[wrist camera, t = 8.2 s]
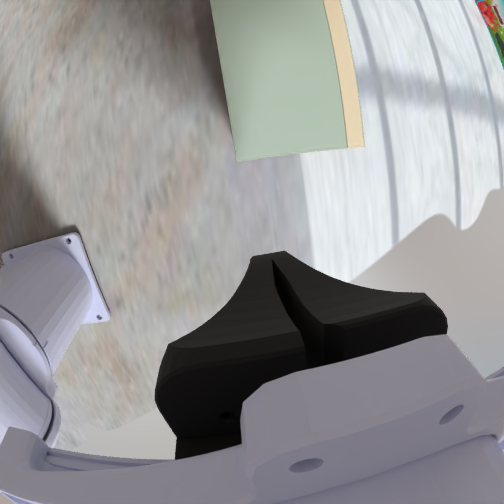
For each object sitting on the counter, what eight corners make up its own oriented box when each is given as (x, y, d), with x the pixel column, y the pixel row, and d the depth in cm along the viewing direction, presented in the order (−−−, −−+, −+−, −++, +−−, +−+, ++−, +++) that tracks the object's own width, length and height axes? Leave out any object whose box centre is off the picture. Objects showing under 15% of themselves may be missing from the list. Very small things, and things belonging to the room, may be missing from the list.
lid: (236, 161, 16) (237, 162, 15) (204, -33, 11) (203, -39, 10) (360, 146, 16) (365, 146, 15) (325, -37, 11) (328, -42, 10)
